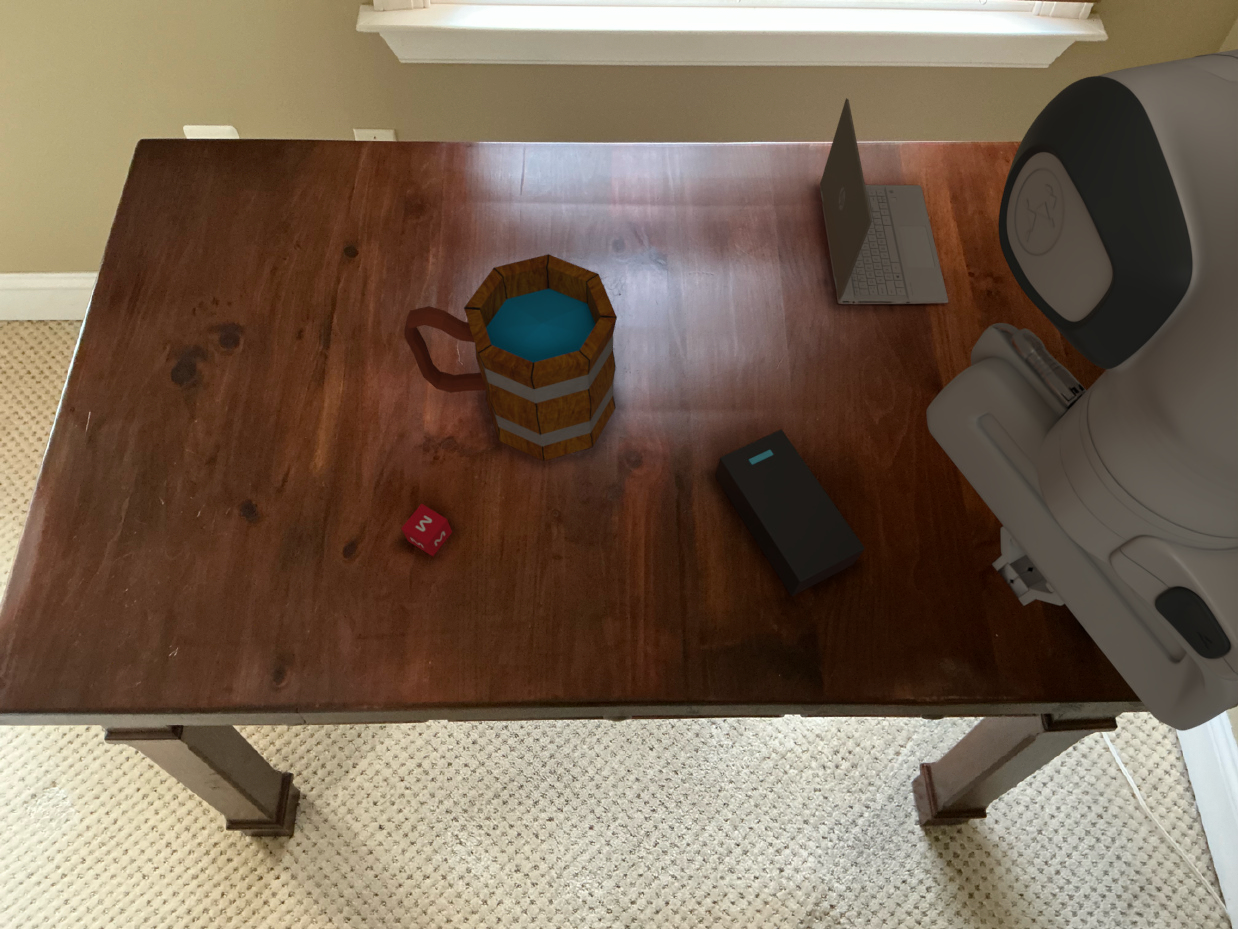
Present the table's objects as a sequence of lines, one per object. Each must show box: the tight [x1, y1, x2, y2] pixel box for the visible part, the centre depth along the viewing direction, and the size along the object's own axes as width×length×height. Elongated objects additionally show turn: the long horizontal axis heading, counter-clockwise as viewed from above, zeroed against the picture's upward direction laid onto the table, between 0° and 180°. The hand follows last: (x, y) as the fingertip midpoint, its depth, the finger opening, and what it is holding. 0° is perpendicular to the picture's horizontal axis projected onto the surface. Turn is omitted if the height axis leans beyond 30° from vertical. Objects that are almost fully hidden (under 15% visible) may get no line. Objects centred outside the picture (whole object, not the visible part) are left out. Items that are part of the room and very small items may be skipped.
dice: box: [401, 503, 453, 557], centre depth 77 cm, size 3×3×3 cm
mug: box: [403, 254, 618, 462], centre depth 79 cm, size 20×14×15 cm
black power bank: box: [714, 428, 866, 597], centre depth 78 cm, size 4×7×14 cm
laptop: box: [819, 97, 949, 305], centre depth 91 cm, size 18×12×13 cm
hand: (1016, 580), depth 49 cm, fingers closed
